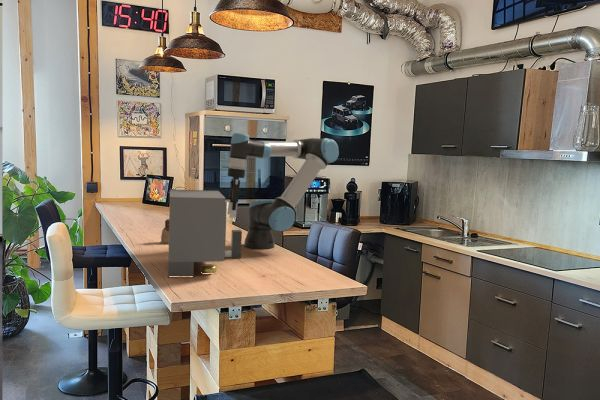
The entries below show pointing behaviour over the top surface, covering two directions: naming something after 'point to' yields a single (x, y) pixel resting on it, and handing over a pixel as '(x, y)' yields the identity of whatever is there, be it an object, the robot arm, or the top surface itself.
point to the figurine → (165, 233)
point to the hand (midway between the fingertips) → (231, 216)
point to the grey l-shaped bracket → (235, 245)
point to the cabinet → (195, 229)
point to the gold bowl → (208, 268)
